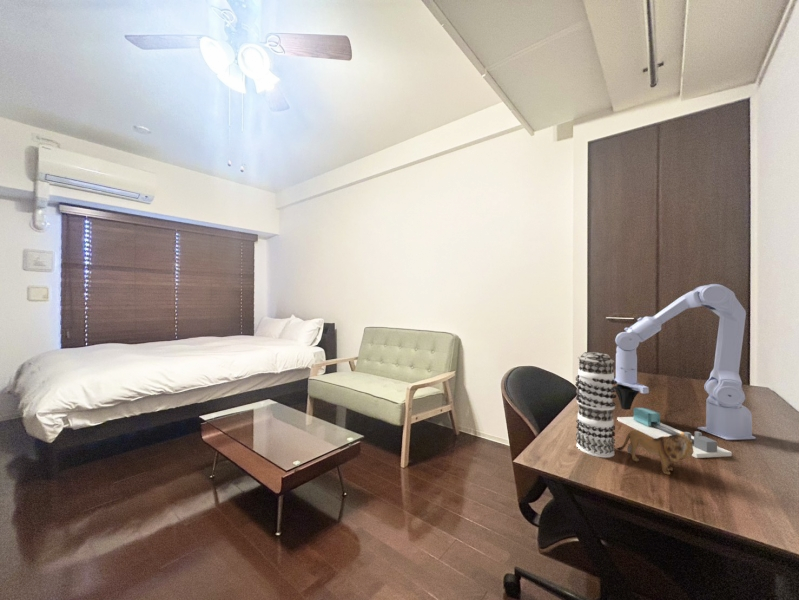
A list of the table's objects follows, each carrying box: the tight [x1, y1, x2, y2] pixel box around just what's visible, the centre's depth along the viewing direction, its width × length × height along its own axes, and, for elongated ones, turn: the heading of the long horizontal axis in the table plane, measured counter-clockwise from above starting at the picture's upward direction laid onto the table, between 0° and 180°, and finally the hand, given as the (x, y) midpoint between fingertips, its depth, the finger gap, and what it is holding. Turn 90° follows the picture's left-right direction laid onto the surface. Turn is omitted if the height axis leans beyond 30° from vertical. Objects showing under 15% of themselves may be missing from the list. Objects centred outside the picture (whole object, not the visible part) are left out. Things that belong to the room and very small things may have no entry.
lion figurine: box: [616, 429, 694, 475], centre depth 73 cm, size 15×5×9 cm, turn 33°
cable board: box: [616, 415, 733, 459], centre depth 88 cm, size 10×24×4 cm, turn 7°
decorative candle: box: [574, 351, 617, 458], centre depth 80 cm, size 9×9×25 cm
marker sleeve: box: [633, 407, 661, 426], centre depth 95 cm, size 4×5×4 cm
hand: (625, 408), depth 102 cm, fingers closed
